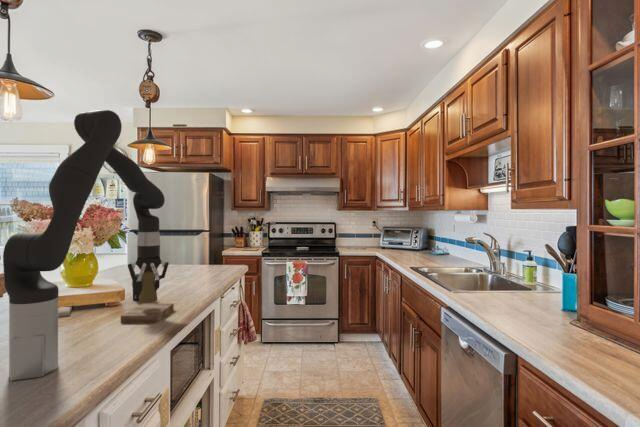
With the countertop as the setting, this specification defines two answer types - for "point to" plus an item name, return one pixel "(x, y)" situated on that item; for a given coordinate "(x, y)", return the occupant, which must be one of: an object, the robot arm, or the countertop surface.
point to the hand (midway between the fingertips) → (148, 290)
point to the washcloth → (64, 311)
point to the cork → (148, 288)
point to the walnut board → (147, 313)
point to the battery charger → (135, 289)
